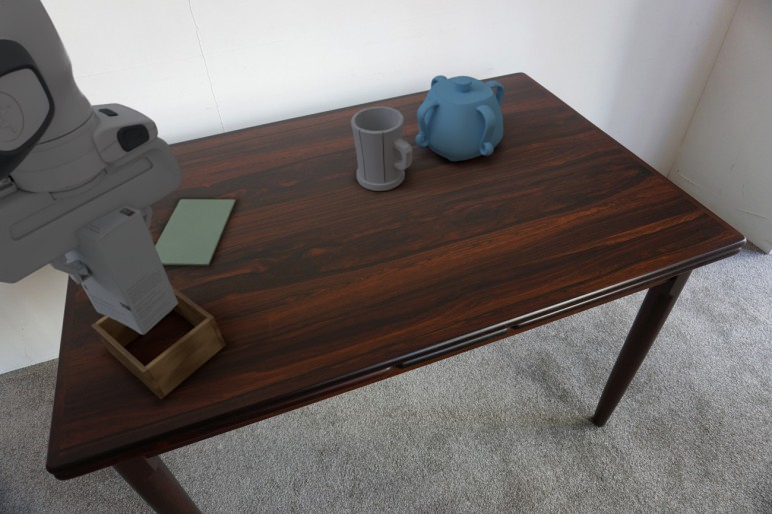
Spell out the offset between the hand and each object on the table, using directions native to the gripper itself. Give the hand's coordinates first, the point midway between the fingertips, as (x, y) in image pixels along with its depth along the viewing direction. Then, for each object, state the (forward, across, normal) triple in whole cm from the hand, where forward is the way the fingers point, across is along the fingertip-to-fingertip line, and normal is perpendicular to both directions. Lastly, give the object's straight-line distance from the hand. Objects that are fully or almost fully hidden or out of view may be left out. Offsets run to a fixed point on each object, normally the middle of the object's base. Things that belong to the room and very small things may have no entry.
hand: (114, 258), depth 57 cm
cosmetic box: (+8, 0, 0) cm, 8 cm away
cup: (+17, +48, 0) cm, 50 cm away
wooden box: (+17, 0, 0) cm, 17 cm away
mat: (+17, +18, +17) cm, 30 cm away
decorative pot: (+17, +64, -5) cm, 67 cm away
